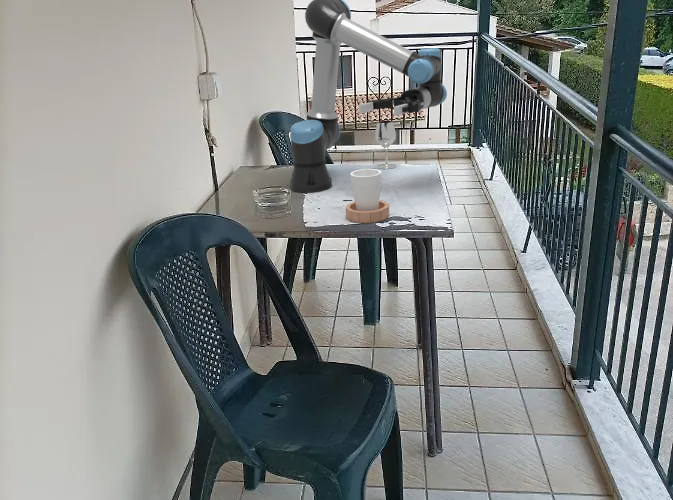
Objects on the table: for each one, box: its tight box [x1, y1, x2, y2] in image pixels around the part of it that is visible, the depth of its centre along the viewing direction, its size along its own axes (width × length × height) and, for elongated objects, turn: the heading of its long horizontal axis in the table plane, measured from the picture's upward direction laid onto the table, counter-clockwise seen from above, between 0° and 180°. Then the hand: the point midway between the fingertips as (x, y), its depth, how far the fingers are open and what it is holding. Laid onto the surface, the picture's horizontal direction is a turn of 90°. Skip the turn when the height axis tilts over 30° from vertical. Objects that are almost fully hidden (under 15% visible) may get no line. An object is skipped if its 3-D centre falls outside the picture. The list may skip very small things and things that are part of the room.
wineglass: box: [374, 119, 397, 170], centre depth 250 cm, size 8×8×18 cm
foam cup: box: [349, 168, 383, 211], centre depth 195 cm, size 10×9×13 cm
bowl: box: [345, 199, 390, 224], centre depth 197 cm, size 13×13×3 cm
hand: (376, 110), depth 199 cm, fingers open, 13 cm apart
